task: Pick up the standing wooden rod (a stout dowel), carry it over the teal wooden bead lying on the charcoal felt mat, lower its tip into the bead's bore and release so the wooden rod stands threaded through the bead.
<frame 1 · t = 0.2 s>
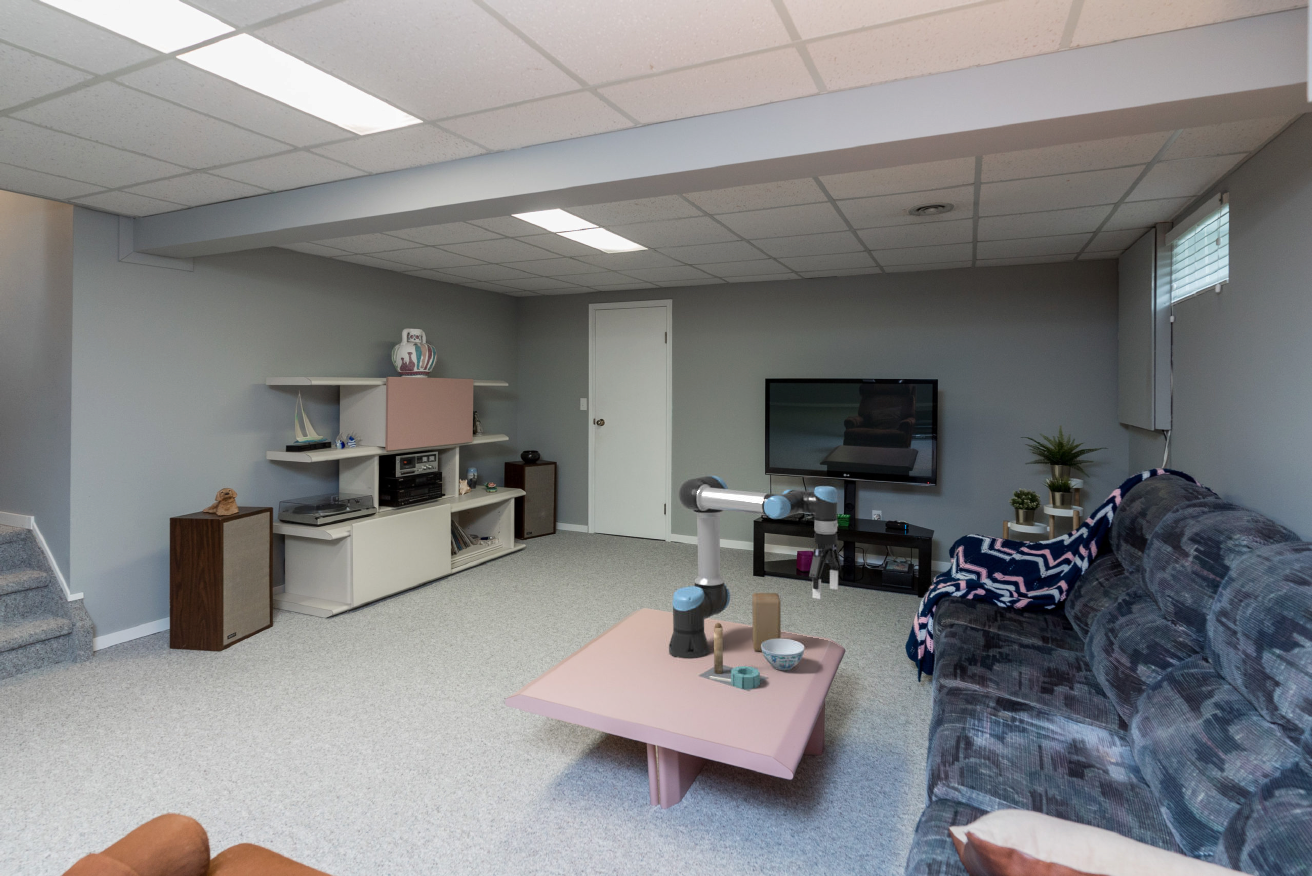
hand: (825, 593, 235), 28 cm above the table, fingers open, 13 cm apart
wooden block: (766, 648, 260), on the table
white stick: (721, 679, 230), resting on mat
chinaware: (782, 668, 241), on the table
bead: (745, 683, 227), resting on mat
wooden rod: (718, 672, 236), resting on mat
mat: (733, 677, 233), on the table
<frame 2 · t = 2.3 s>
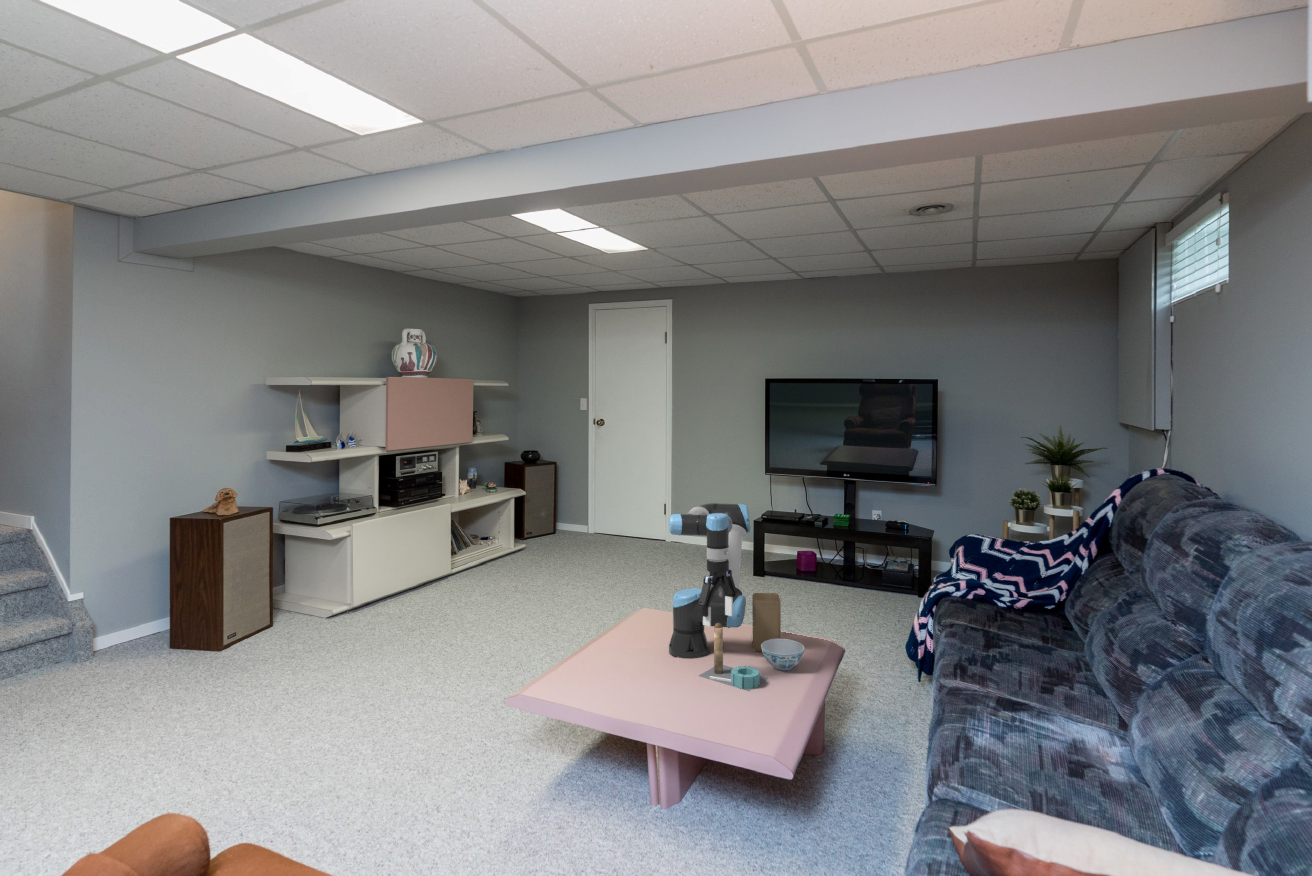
hand: (718, 620, 235), 19 cm above the table, fingers open, 13 cm apart
nothing on the table moved.
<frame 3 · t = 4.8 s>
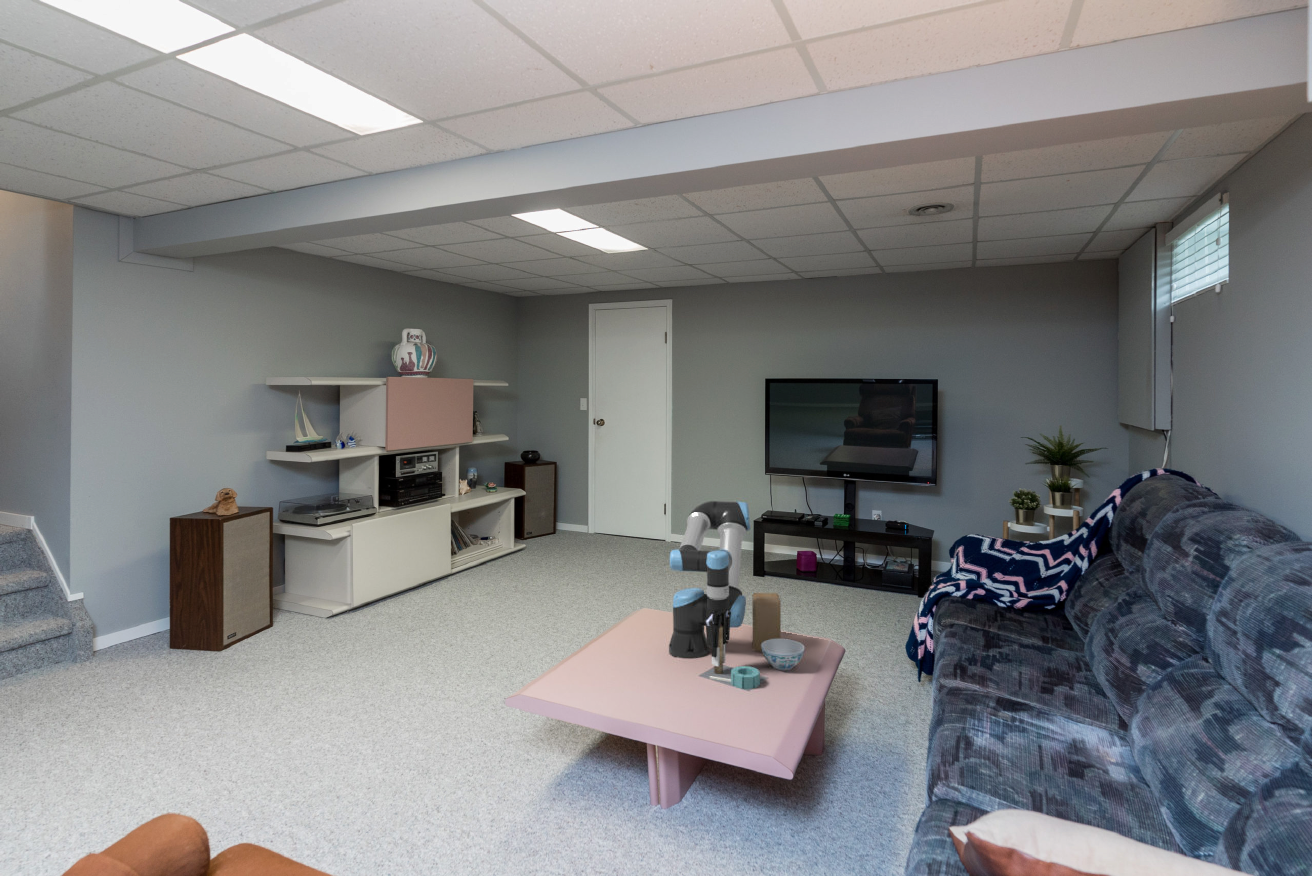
hand: (718, 663, 236), 4 cm above the table, fingers closed on wooden rod, 3 cm apart
wooden rod: (718, 672, 236), resting on mat, touching gripper
everything else where it was.
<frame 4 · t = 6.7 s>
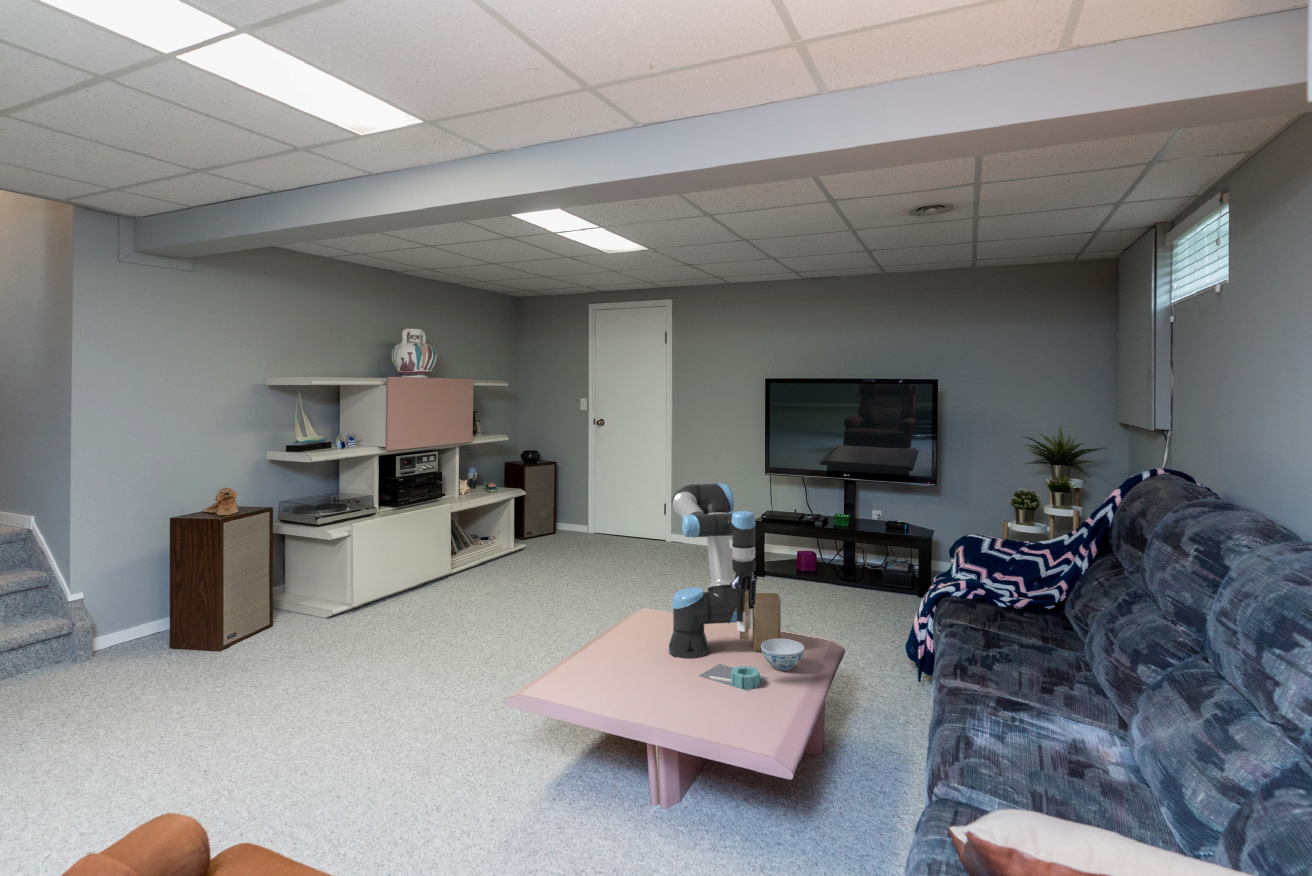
hand: (744, 629, 226), 19 cm above the table, fingers closed on wooden rod, 3 cm apart
wooden rod: (744, 638, 226), point 16 cm above the table, touching gripper
everything else where it was.
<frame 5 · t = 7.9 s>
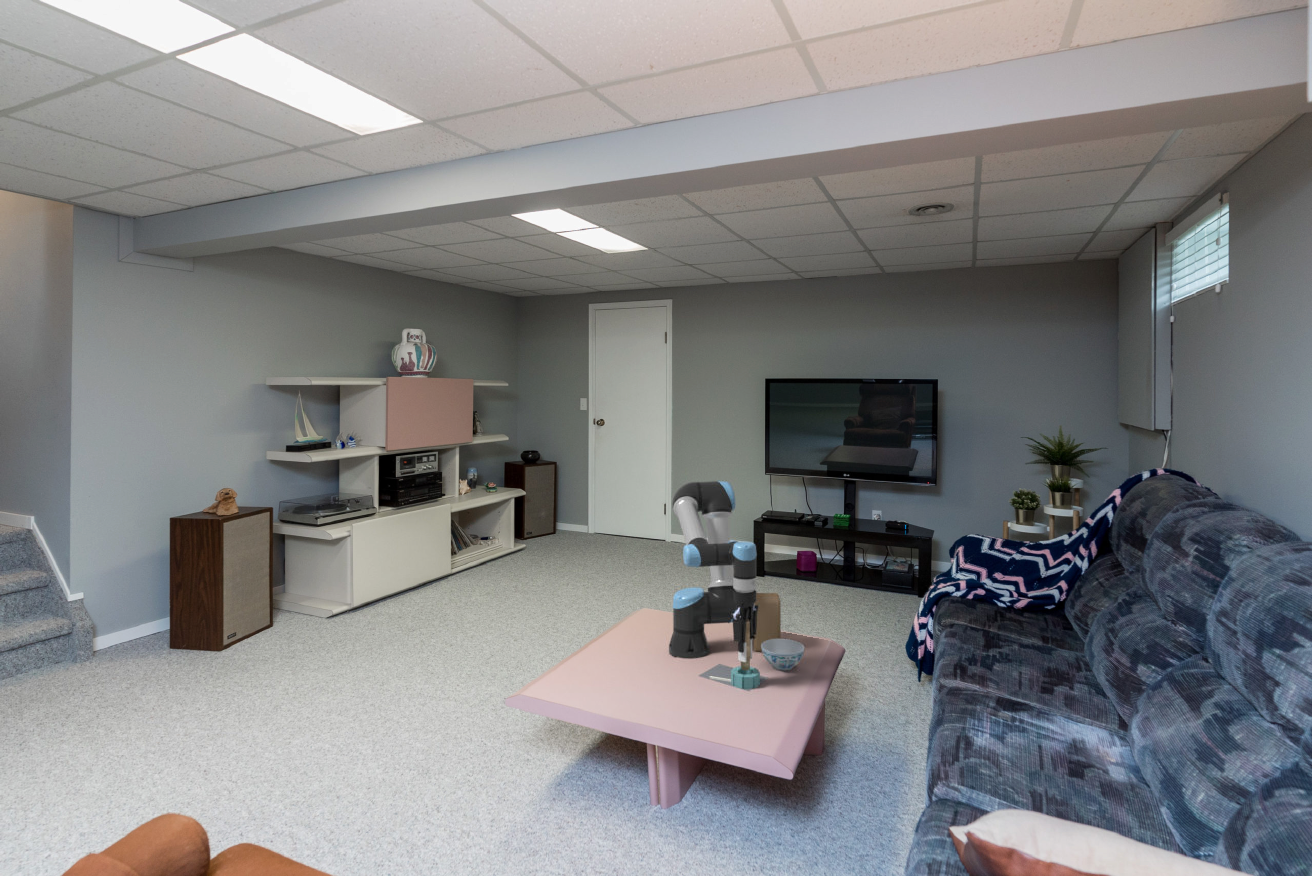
hand: (745, 659, 227), 9 cm above the table, fingers closed on wooden rod, 3 cm apart
wooden rod: (745, 668, 227), point 5 cm above the table, touching gripper
everything else where it was.
when the fingers open (6 cm above the table, at t = 8.9 s): wooden rod drops 2 cm, resting on mat.
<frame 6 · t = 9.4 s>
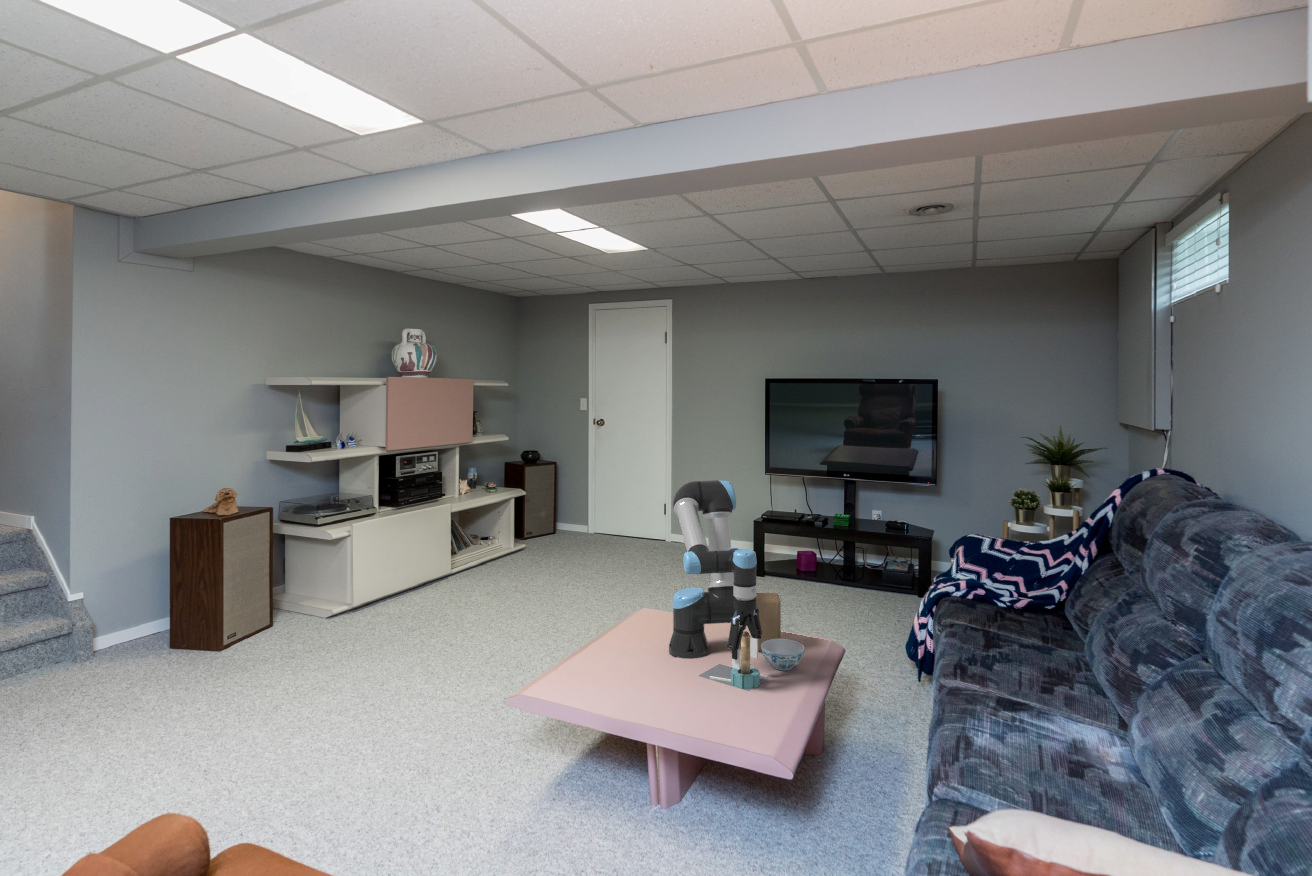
hand: (745, 662, 227), 7 cm above the table, fingers open, 10 cm apart
wooden rod: (745, 682, 227), resting on mat
everything else where it was.
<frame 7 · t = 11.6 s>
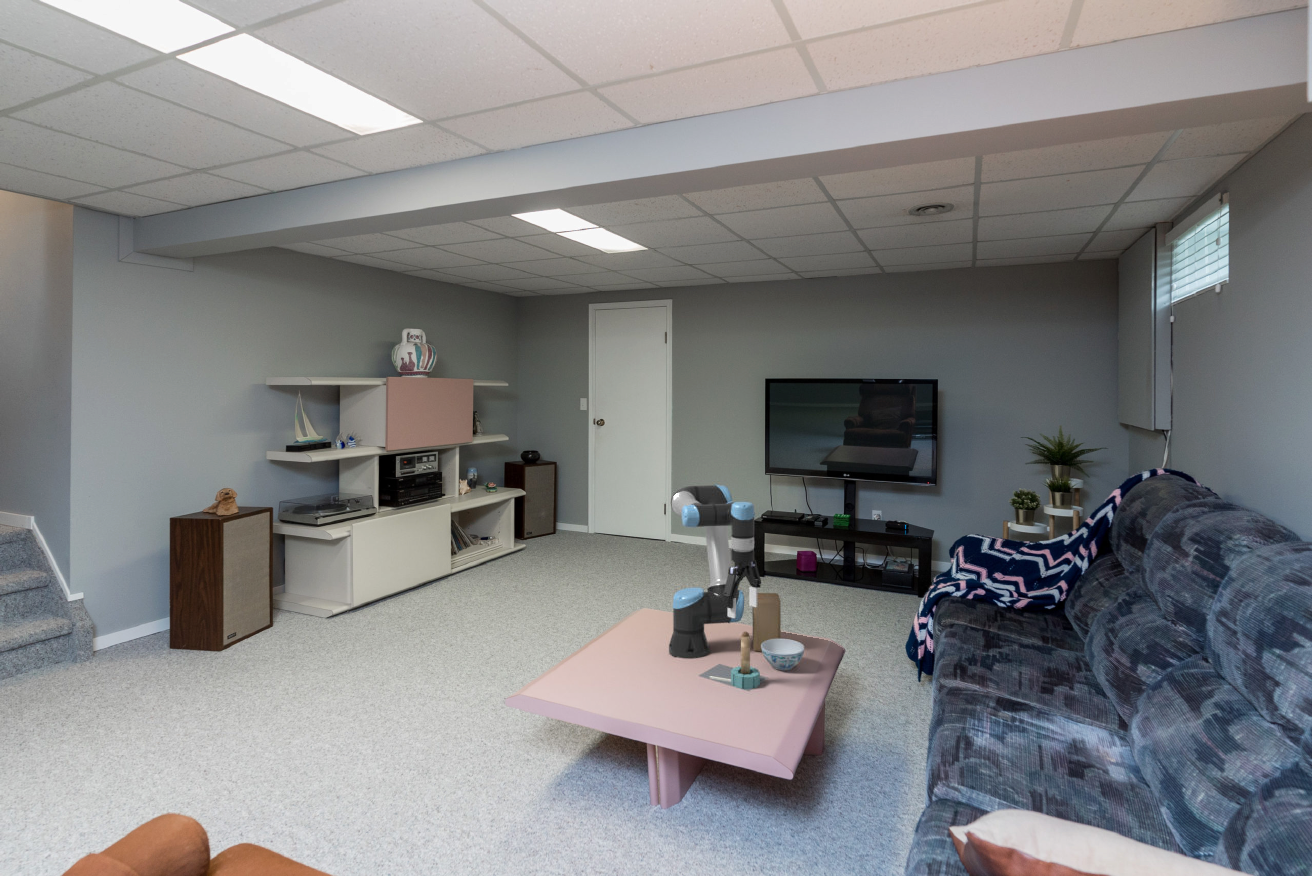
hand: (742, 611, 229), 24 cm above the table, fingers open, 13 cm apart
nothing on the table moved.
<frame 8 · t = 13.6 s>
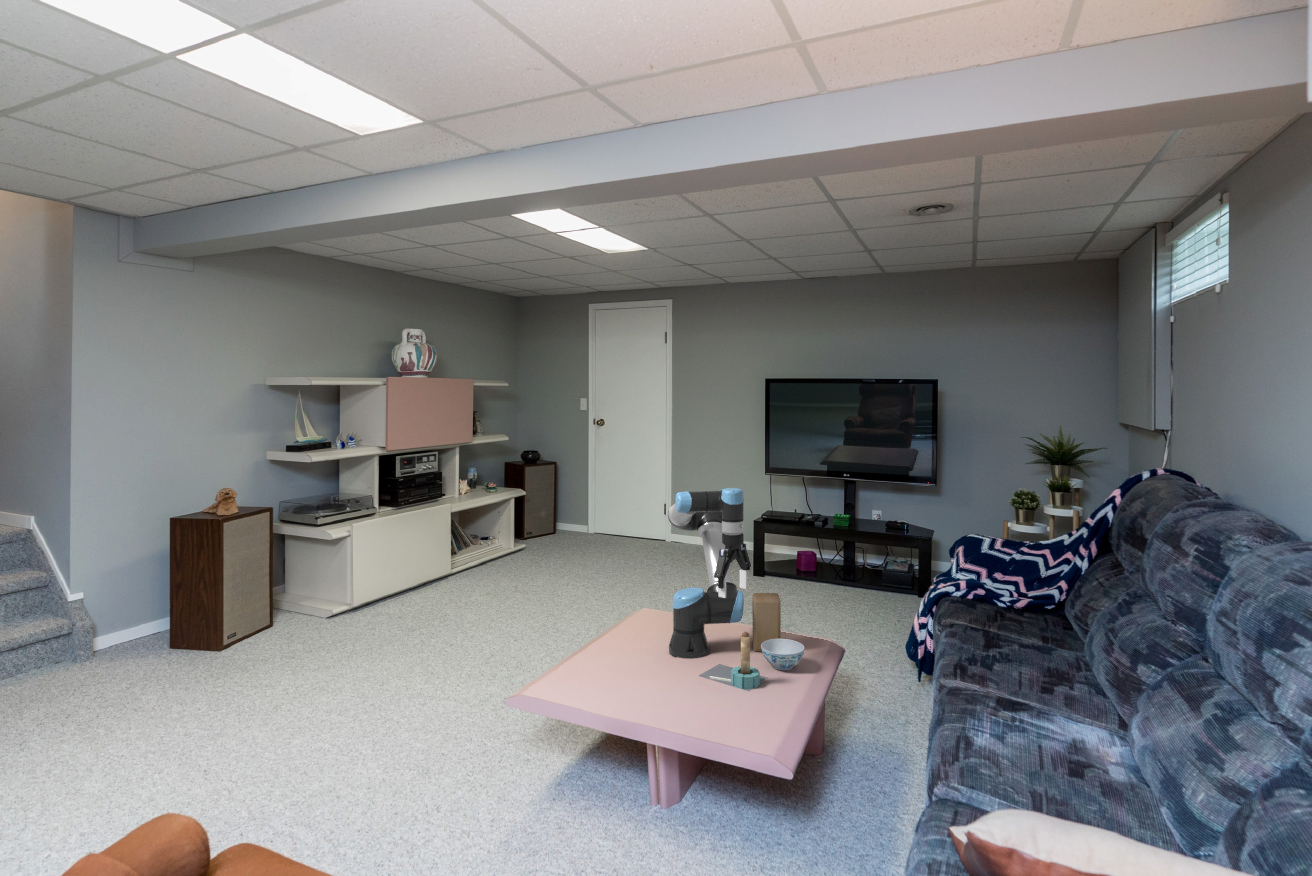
hand: (733, 592, 240), 27 cm above the table, fingers open, 13 cm apart
nothing on the table moved.
at the end: wooden rod 0.0 cm off-centre on the bead, point 0.0 cm above the bead's base; wooden rod tilted 0°; the gripper is holding nothing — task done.
